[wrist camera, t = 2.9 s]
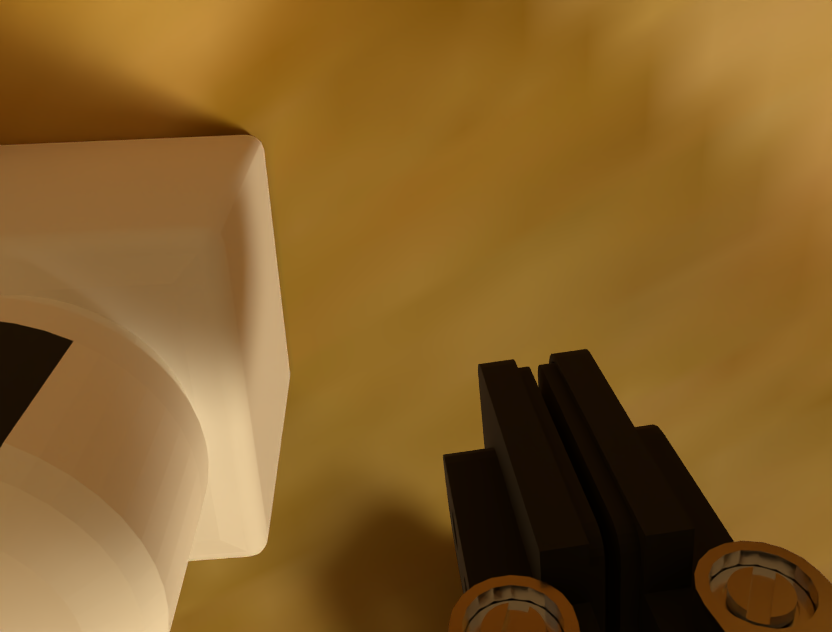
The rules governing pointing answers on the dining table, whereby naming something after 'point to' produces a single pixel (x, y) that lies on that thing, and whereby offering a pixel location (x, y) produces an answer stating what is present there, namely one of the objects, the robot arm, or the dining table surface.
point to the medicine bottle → (133, 374)
